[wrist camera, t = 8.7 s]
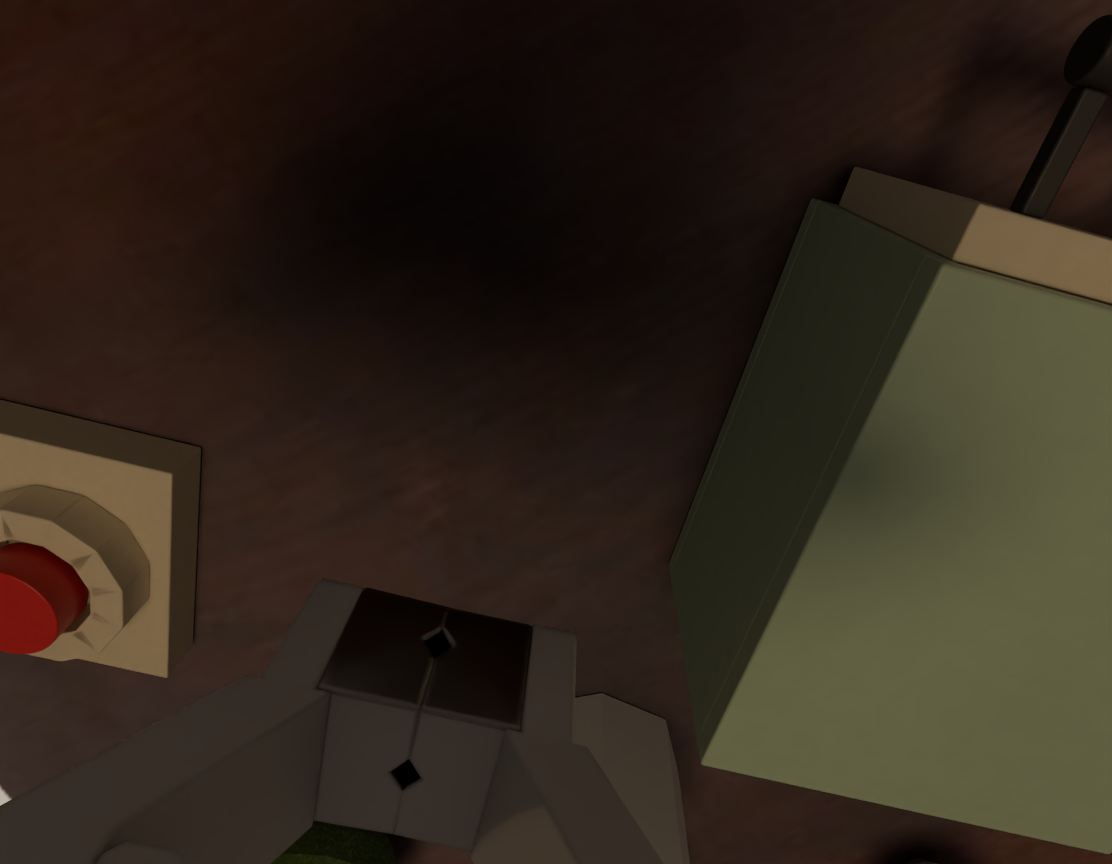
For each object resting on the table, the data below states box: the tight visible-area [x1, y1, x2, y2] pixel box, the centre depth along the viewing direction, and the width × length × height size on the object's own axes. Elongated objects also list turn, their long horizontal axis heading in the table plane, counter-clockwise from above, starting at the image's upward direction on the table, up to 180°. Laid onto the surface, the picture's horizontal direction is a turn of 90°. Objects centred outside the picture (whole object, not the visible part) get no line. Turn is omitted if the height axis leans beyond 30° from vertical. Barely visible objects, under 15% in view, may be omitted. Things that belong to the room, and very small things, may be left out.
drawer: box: [839, 15, 1112, 304], centre depth 20 cm, size 18×11×8 cm, turn 166°
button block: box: [0, 400, 201, 678], centre depth 28 cm, size 10×8×4 cm
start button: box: [0, 542, 88, 654], centre depth 26 cm, size 4×4×2 cm
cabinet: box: [669, 199, 1112, 854], centre depth 22 cm, size 15×13×10 cm
